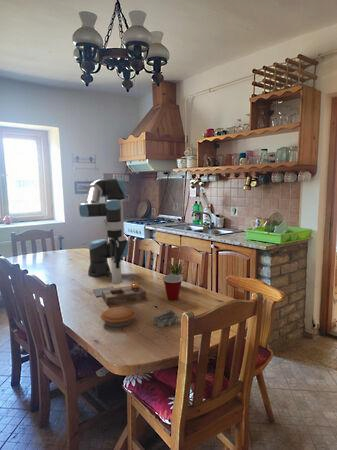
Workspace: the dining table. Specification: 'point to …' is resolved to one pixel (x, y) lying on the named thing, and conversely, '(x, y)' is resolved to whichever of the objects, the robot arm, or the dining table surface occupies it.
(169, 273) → the house plant
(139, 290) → the housing
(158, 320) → the egg carton
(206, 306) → the dining table surface
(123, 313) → the pie
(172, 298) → the plastic cup
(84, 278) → the dining table surface
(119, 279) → the cartridge
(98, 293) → the mat
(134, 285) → the release button
